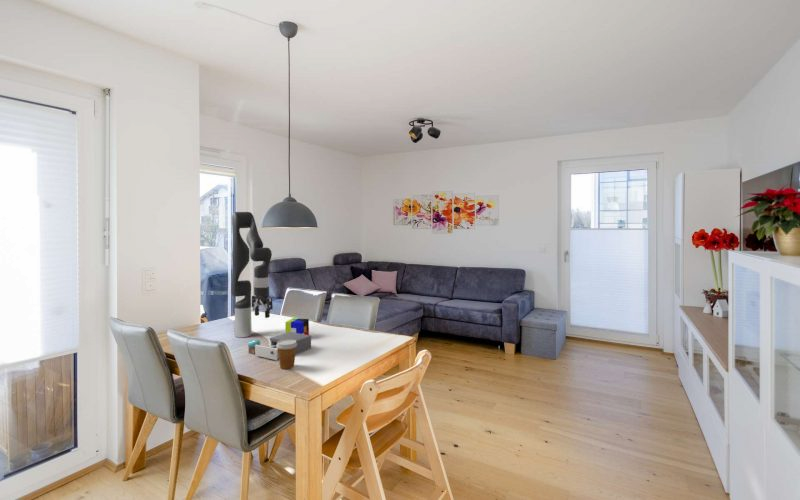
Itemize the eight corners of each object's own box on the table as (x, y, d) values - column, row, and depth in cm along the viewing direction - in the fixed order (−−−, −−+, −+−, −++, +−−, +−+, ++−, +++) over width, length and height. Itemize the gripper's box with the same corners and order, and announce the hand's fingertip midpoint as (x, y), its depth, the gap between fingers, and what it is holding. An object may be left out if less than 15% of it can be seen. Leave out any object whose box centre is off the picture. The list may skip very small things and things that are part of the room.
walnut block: (248, 353, 207) (248, 345, 207) (254, 350, 210) (254, 343, 210) (253, 354, 205) (253, 346, 205) (260, 352, 209) (259, 344, 208)
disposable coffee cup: (279, 363, 192) (278, 339, 191) (299, 363, 192) (298, 338, 192) (274, 370, 182) (274, 345, 181) (295, 370, 183) (295, 344, 182)
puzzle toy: (301, 339, 231) (301, 322, 231) (285, 338, 233) (285, 322, 233) (308, 335, 241) (308, 318, 240) (293, 334, 243) (293, 318, 242)
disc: (245, 345, 206) (245, 341, 206) (254, 342, 212) (254, 338, 211) (253, 347, 203) (253, 343, 203) (262, 344, 209) (262, 340, 209)
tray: (254, 355, 201) (254, 345, 201) (275, 347, 213) (275, 338, 213) (275, 360, 194) (275, 350, 193) (296, 352, 206) (296, 342, 206)
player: (270, 350, 211) (269, 337, 210) (289, 343, 223) (289, 331, 222) (292, 355, 203) (292, 342, 202) (311, 348, 215) (311, 335, 215)
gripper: (246, 285, 208) (247, 316, 209) (264, 288, 200) (264, 319, 201) (259, 283, 215) (259, 313, 216) (276, 286, 207) (276, 317, 208)
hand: (262, 316), depth 209 cm, fingers open, 8 cm apart
